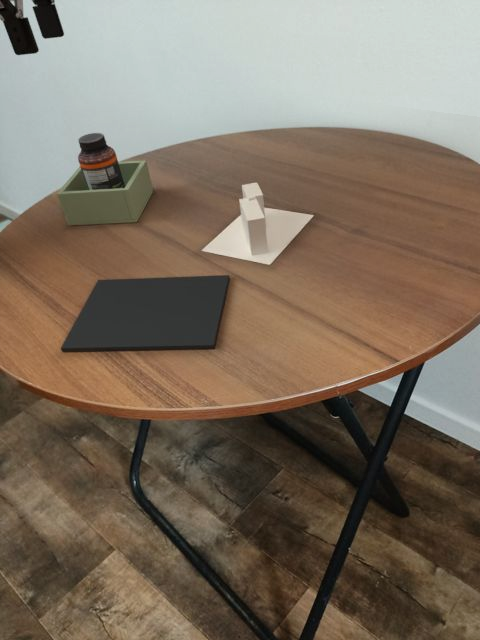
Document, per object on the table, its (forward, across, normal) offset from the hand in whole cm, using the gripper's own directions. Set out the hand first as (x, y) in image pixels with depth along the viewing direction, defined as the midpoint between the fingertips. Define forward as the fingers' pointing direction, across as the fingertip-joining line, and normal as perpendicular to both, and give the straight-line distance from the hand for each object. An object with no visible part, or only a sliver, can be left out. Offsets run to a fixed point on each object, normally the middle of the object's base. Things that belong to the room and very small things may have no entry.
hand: (41, 45), depth 73 cm
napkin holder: (+25, +12, +29) cm, 40 cm away
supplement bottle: (+24, +1, +3) cm, 25 cm away
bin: (+25, +1, +3) cm, 25 cm away
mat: (+24, +31, +17) cm, 43 cm away
